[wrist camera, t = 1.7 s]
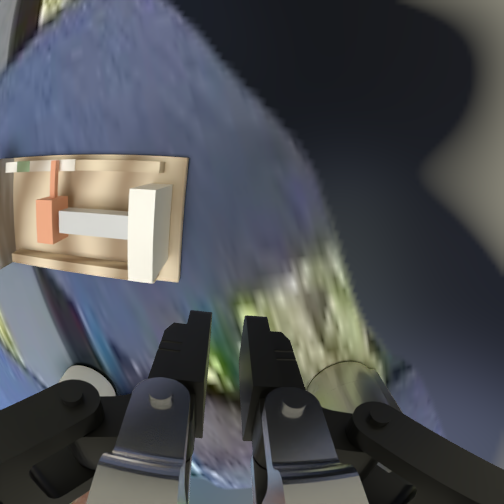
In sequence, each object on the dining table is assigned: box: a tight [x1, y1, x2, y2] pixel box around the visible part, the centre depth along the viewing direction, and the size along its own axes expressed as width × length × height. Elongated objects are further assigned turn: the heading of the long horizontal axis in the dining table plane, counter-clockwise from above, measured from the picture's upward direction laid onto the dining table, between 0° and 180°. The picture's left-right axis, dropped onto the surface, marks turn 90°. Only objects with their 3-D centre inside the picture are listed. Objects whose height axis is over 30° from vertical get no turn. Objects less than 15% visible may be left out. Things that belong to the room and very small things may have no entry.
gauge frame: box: [0, 155, 189, 283], centre depth 22 cm, size 24×12×9 cm, turn 83°
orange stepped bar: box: [36, 160, 68, 245], centre depth 22 cm, size 2×8×3 cm, turn 173°
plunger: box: [59, 183, 173, 283], centre depth 23 cm, size 10×7×6 cm
